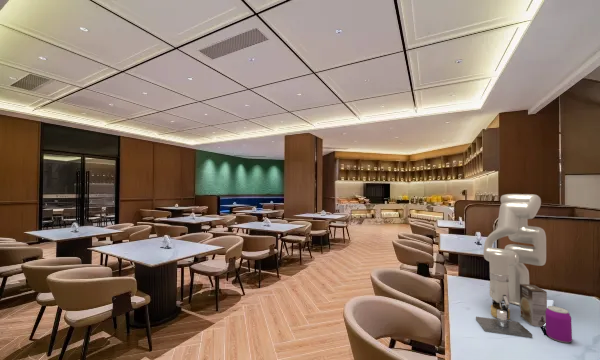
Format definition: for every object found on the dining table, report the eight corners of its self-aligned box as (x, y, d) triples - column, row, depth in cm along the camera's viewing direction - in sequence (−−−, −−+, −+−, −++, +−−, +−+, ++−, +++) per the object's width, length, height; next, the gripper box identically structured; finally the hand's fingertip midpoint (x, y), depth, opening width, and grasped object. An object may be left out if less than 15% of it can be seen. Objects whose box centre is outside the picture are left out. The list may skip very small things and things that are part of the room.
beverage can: (567, 336, 110) (566, 307, 111) (575, 346, 103) (574, 315, 104) (543, 331, 114) (542, 303, 114) (550, 340, 107) (549, 310, 107)
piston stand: (518, 325, 119) (518, 308, 119) (532, 338, 108) (531, 319, 109) (475, 319, 124) (475, 303, 124) (485, 331, 113) (484, 313, 114)
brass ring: (505, 313, 130) (505, 305, 130) (512, 320, 123) (512, 312, 123) (488, 311, 132) (488, 303, 132) (494, 318, 125) (494, 310, 125)
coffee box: (519, 316, 128) (518, 283, 128) (534, 318, 126) (533, 284, 127) (532, 326, 119) (531, 290, 119) (548, 327, 117) (547, 291, 118)
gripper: (483, 271, 137) (484, 305, 137) (498, 282, 121) (499, 321, 120) (500, 272, 135) (501, 307, 135) (517, 284, 119) (518, 323, 118)
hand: (500, 313), depth 127 cm, fingers closed on brass ring, 7 cm apart
